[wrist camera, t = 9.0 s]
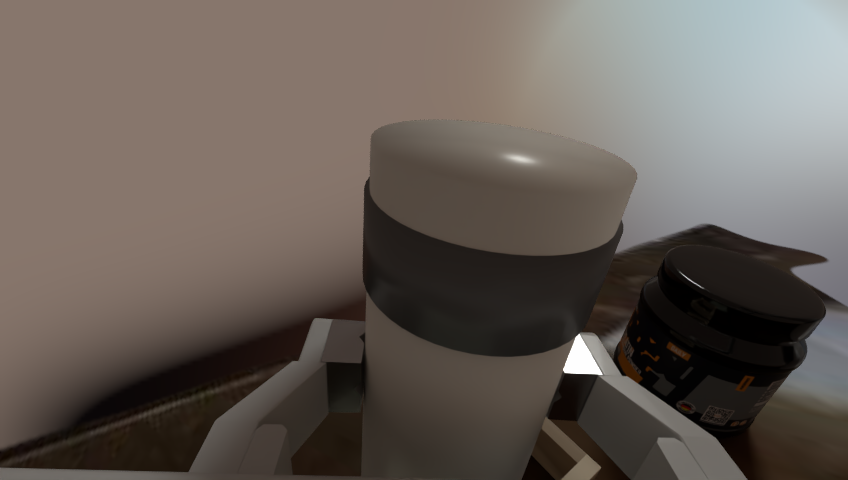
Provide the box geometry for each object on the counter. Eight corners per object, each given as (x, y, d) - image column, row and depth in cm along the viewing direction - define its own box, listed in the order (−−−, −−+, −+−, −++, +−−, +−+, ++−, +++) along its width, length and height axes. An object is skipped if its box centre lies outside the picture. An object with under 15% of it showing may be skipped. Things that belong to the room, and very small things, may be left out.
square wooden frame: (488, 395, 30) (495, 369, 29) (586, 494, 24) (601, 467, 23) (396, 456, 25) (398, 429, 24) (490, 599, 19) (501, 574, 18)
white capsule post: (438, 429, 17) (494, 115, 11) (526, 539, 14) (693, 172, 7) (332, 497, 14) (319, 123, 8) (410, 661, 11) (508, 225, 4)
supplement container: (610, 330, 39) (654, 229, 33) (729, 370, 35) (802, 264, 29) (607, 409, 30) (665, 290, 25) (764, 471, 27) (875, 350, 21)
